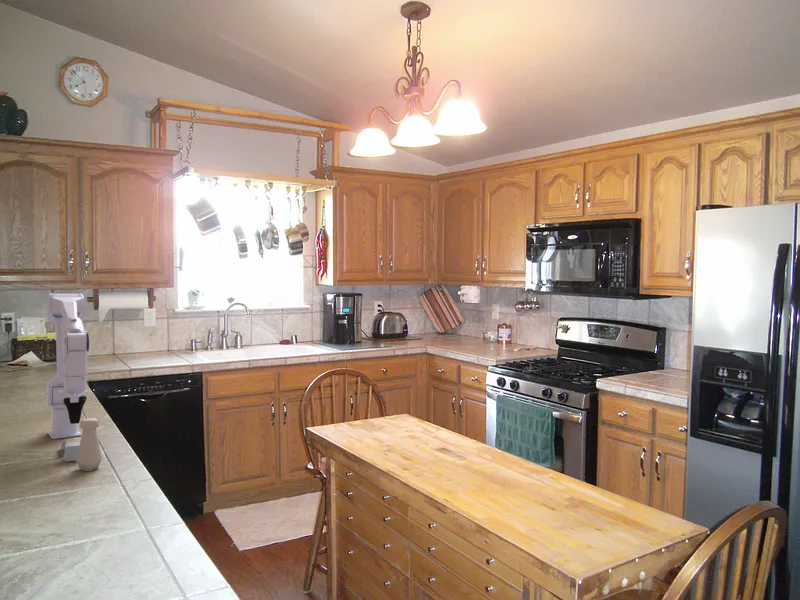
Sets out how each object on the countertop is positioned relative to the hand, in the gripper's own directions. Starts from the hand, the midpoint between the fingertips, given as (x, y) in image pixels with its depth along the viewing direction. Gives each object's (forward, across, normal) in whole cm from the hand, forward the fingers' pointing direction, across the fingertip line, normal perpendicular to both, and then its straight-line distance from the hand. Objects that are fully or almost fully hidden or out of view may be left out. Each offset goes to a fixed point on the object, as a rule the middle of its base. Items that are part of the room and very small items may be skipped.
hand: (74, 423), depth 168 cm
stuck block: (+8, +7, 0) cm, 11 cm away
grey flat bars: (+8, 0, 0) cm, 8 cm away
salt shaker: (+8, +17, +4) cm, 20 cm away
